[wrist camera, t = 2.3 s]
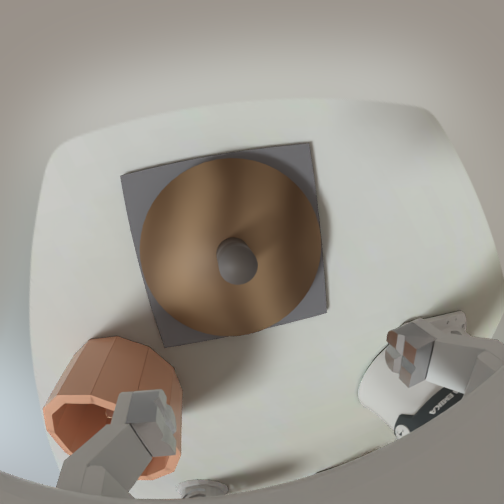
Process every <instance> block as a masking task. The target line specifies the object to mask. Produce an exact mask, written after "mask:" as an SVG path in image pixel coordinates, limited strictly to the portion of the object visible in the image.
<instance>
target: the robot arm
mask: <svg viewBox="0 0 504 504" xmlns="http://www.w3.org/2000/svg"><path fill="white" fill-rule="evenodd" d="M386 341H387V342H388V343H389V345H388V346H387V347H386V348H385V349H384V350H383V351H382V352H381V353H380V354H379V355H378V356H377V357H376V359H375V360H374V361H373V362H372V364H371V365H370V366H369V368H368V369H367V371H366V372H365V374H364V376H363V378H362V380H361V383H360V386H359V391H358V398H359V401H360V403H361V404H362V405H363V406H364V407H366V408H367V409H369V410H370V411H372V412H373V413H375V414H376V415H377V416H378V417H379V418H381V419H382V420H383V421H384V422H385V423H386V424H387V425H388V426H389V427H390V428H391V429H392V430H393V431H394V434H395V435H396V437H397V440H395V441H393V442H391V443H389V444H388V445H385V446H383V447H381V448H379V449H377V450H375V451H373V452H371V453H369V454H366V455H364V456H362V457H359V458H357V459H355V460H352V461H350V462H347V463H345V464H342V465H340V466H337V467H334V468H332V469H329V470H326V471H323V472H320V473H317V474H314V475H311V476H308V477H304V478H301V479H298V480H294V481H290V482H287V483H283V484H279V485H275V486H270V487H266V488H261V489H256V490H251V491H246V492H240V493H234V494H227V495H219V496H210V497H200V498H186V499H135V498H134V497H133V496H132V495H131V494H130V493H129V491H130V489H131V488H132V486H133V485H134V484H135V482H136V481H137V480H138V478H139V477H140V475H141V474H142V473H143V471H144V470H145V468H146V467H147V466H148V464H149V463H150V461H151V460H152V457H160V456H171V455H176V439H175V437H174V436H173V434H174V433H175V432H176V419H175V415H174V412H173V409H172V407H171V406H170V405H168V404H167V403H166V401H167V397H166V395H165V393H164V391H163V390H162V389H155V390H143V391H131V392H121V393H120V394H119V396H118V400H117V403H116V406H115V410H114V413H113V417H112V420H111V424H107V425H105V426H104V427H103V428H102V429H101V430H100V431H99V432H97V433H96V434H95V435H94V436H93V437H92V438H90V439H89V440H88V441H87V442H86V443H85V444H83V445H82V446H81V447H80V448H79V449H78V450H76V451H75V452H74V453H73V454H72V455H71V456H69V457H68V458H67V459H66V460H65V461H64V463H63V466H62V469H61V472H60V476H59V479H58V482H57V486H56V488H54V487H50V486H46V485H43V484H39V483H35V482H32V481H29V480H25V479H22V478H19V477H16V476H13V475H11V474H8V473H5V472H2V471H0V504H504V344H503V343H502V342H500V341H499V340H496V339H488V338H480V337H473V336H471V335H469V334H468V333H467V332H466V316H465V313H463V312H462V311H457V312H453V313H449V314H445V315H440V316H436V317H431V318H427V319H423V318H418V319H415V320H413V321H411V322H407V323H404V324H403V325H402V326H400V327H398V328H396V329H393V330H391V331H389V332H388V334H387V340H386Z"/></svg>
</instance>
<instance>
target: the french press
mask: <svg viewBox="0 0 504 504" xmlns="http://www.w3.org/2000/svg"><path fill="white" fill-rule="evenodd" d="M176 491H177V492H178V493H179V494H180V495H182V499H186V498H200V497H210V496H219V495H225V494H226V493H227V492H228V488H227V486H226V485H224V484H222V483H220V482H217V481H212V480H189V481H185V482H182V483H180V484H178V485H177V486H176Z"/></svg>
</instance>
